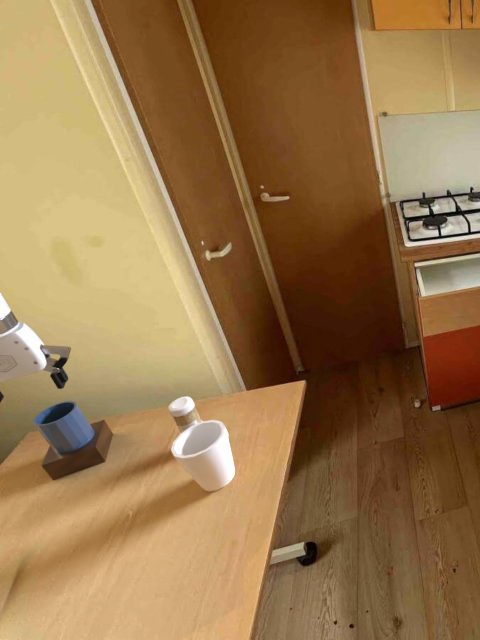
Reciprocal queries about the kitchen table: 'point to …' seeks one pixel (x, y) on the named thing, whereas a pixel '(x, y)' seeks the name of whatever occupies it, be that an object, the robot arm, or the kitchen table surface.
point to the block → (80, 454)
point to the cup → (64, 427)
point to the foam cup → (206, 454)
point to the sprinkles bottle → (184, 413)
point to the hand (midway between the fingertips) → (31, 393)
